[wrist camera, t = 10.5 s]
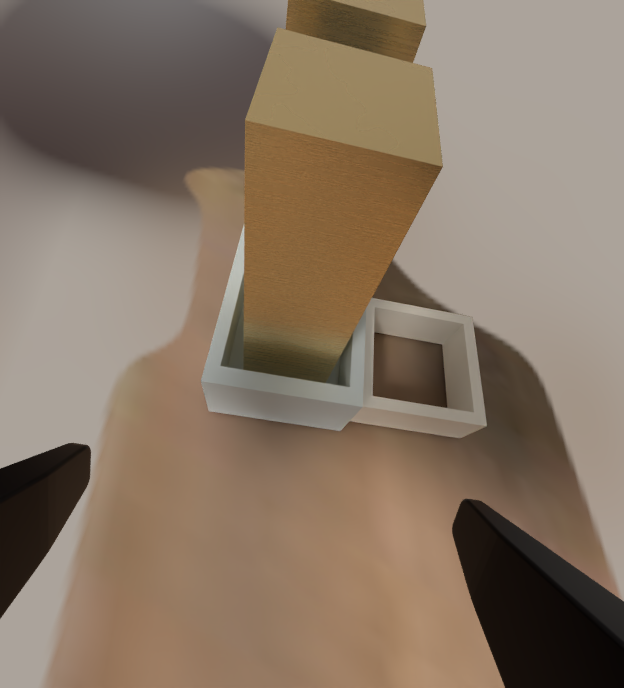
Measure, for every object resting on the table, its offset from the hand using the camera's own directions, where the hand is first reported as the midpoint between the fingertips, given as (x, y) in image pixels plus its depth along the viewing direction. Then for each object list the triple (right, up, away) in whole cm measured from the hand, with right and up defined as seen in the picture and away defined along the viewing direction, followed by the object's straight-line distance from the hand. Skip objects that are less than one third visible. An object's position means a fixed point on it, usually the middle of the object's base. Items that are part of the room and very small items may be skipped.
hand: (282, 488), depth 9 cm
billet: (-1, +3, +10) cm, 11 cm away
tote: (+6, +2, +12) cm, 14 cm away
